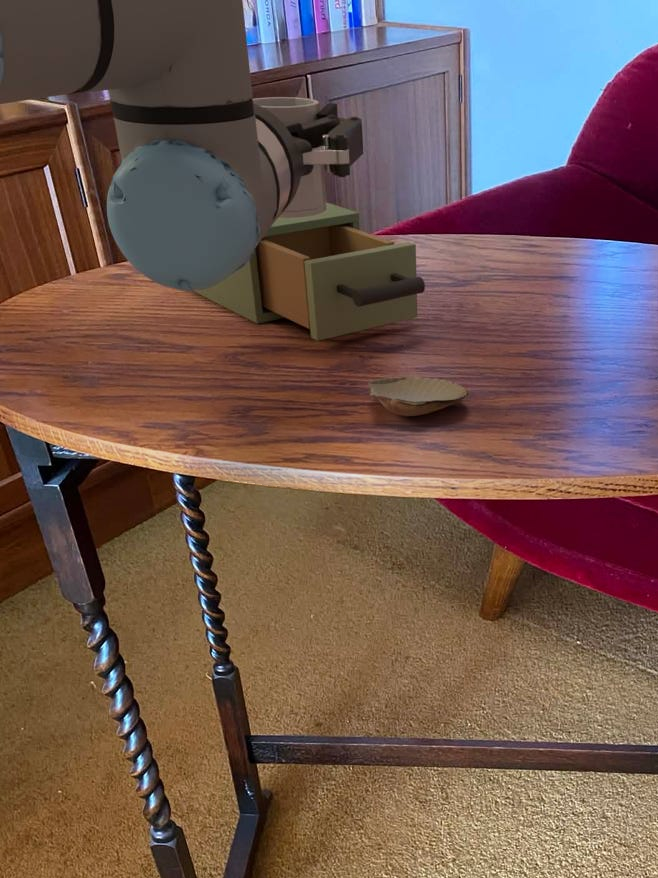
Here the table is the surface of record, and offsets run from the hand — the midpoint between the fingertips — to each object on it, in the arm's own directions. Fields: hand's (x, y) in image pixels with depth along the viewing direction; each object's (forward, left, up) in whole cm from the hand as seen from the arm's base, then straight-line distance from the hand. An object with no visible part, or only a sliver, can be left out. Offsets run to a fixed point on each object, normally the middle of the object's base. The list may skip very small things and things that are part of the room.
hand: (293, 120), depth 82 cm
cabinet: (-12, +3, -18) cm, 22 cm away
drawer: (+1, +3, -17) cm, 17 cm away
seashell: (+22, -4, -18) cm, 28 cm away
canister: (+4, -3, -6) cm, 8 cm away
